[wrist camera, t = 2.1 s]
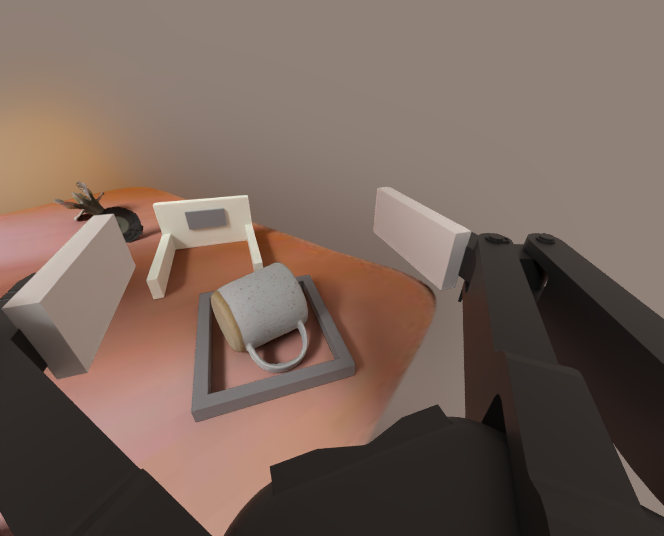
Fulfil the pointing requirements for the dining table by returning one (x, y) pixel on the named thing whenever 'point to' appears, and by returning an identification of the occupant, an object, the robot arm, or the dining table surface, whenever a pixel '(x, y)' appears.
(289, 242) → the dining table surface
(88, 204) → the artificial flower
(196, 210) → the mug dock
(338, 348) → the gray rectangular frame
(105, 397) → the dining table surface
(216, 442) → the dining table surface
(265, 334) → the ceramic mug
